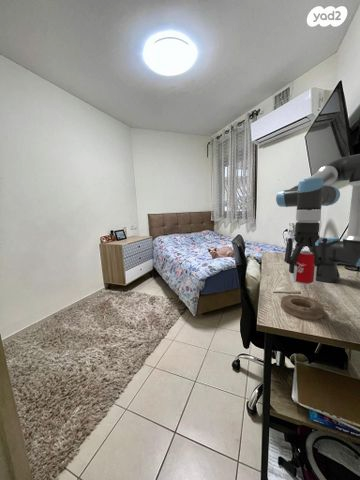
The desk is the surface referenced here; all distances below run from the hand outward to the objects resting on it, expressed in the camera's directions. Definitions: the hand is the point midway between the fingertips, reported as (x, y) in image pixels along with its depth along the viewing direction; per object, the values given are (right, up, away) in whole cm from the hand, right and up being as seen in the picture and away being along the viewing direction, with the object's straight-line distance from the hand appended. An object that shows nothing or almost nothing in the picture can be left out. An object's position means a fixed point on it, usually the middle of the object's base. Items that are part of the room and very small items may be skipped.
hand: (302, 281), depth 74 cm
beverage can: (0, -1, 0) cm, 1 cm away
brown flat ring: (+1, -12, +2) cm, 12 cm away
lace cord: (+4, -9, +17) cm, 20 cm away
